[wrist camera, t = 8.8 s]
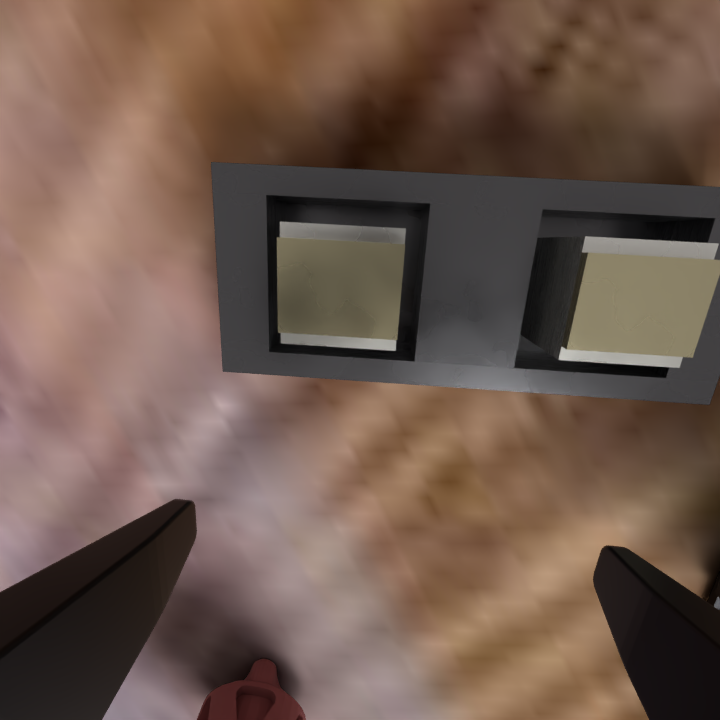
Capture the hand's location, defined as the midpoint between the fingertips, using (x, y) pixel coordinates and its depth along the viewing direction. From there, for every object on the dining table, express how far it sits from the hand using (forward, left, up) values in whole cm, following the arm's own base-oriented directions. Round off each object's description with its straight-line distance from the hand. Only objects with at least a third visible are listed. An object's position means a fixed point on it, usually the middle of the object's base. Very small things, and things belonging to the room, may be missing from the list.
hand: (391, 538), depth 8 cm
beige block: (-8, -5, -11) cm, 14 cm away
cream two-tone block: (+2, -5, -11) cm, 12 cm away
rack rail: (-3, -5, -12) cm, 13 cm away
